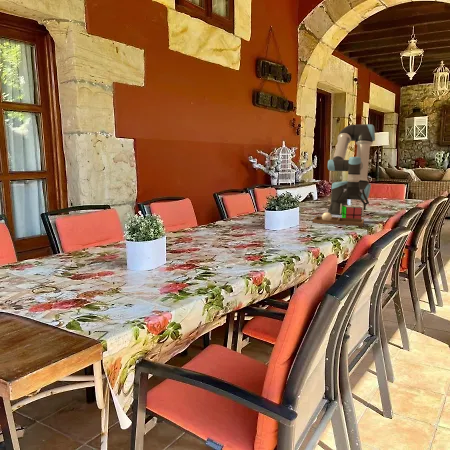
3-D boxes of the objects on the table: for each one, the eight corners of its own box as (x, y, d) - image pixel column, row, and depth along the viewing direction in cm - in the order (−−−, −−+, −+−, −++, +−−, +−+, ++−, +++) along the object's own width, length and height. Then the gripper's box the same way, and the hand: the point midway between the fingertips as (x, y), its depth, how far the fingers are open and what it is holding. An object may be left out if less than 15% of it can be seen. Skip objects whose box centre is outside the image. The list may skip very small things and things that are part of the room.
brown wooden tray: (316, 220, 277) (316, 216, 276) (363, 223, 266) (364, 219, 266) (312, 224, 263) (312, 219, 262) (362, 227, 252) (362, 222, 252)
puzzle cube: (361, 222, 270) (362, 207, 269) (345, 222, 271) (346, 207, 269) (356, 220, 280) (357, 205, 278) (341, 220, 280) (342, 205, 279)
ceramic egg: (322, 220, 271) (322, 211, 270) (332, 221, 268) (332, 211, 267) (320, 222, 265) (321, 212, 264) (330, 222, 263) (331, 213, 262)
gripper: (332, 180, 272) (331, 213, 275) (374, 182, 263) (371, 216, 266) (334, 180, 279) (332, 212, 282) (374, 181, 270) (372, 214, 273)
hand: (351, 214), depth 274 cm, fingers open, 13 cm apart
